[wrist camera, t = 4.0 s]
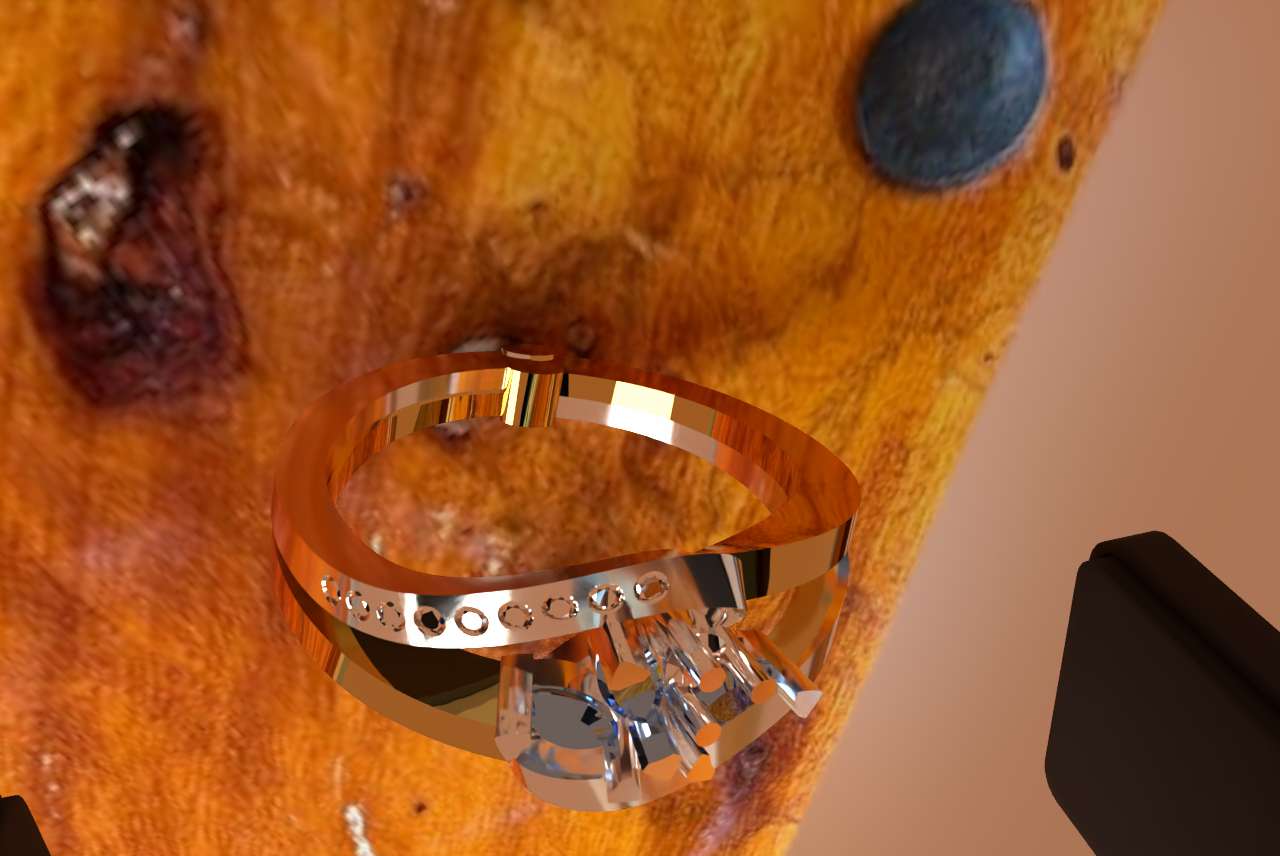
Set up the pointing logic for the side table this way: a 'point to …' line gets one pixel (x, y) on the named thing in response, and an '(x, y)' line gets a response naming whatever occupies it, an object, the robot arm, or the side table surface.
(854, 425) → the side table surface
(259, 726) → the side table surface
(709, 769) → the ring
